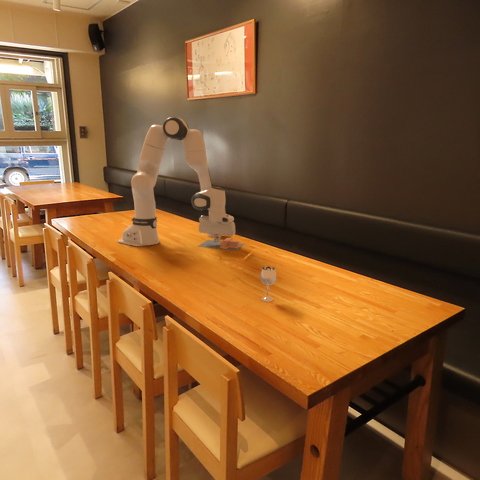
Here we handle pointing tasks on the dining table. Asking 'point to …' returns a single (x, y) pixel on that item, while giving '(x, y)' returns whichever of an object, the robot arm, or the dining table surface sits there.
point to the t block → (229, 243)
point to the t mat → (218, 245)
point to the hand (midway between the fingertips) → (216, 242)
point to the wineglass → (268, 280)
